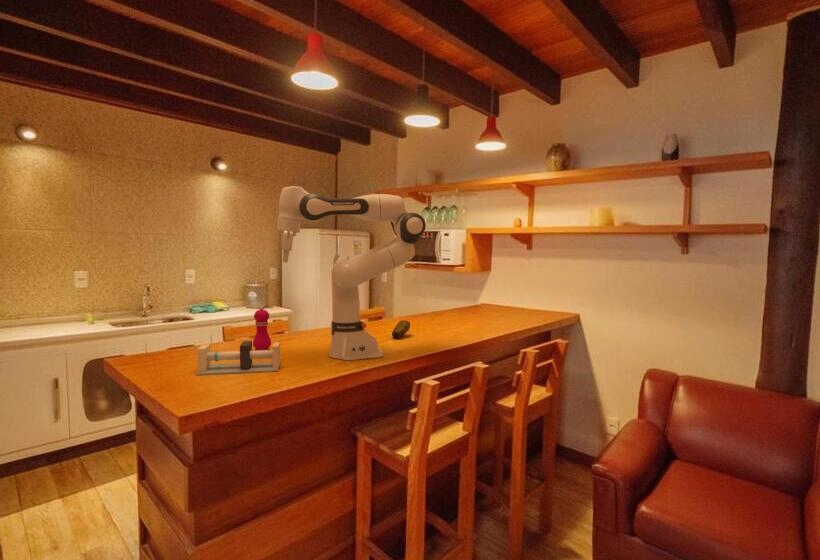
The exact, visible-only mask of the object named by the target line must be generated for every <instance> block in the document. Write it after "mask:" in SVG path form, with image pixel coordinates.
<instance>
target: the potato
mask: <svg viewBox="0 0 820 560" xmlns="http://www.w3.org/2000/svg"><path fill="white" fill-rule="evenodd" d="M410 328H411V323H410V321H408V320H400V321H399V322H398V323H397V324H396V325H395V327H394V328H393V330H392V331H391V336H392V338H394V339H399V338H400V339H401V338H402V337H404V336H405V334H407V332H409V331H410Z"/></svg>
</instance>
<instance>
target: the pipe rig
mask: <svg viewBox="0 0 820 560" xmlns="http://www.w3.org/2000/svg"><path fill="white" fill-rule="evenodd" d="M280 347H281V342H280V341H275V342H273V344H272V349H270V350H258V351H254V350H252V351H250V359H252V360H262V359H272V361H259V362H257V361H255V362H252V364H251V366H250V368H247V369H240V362H238V363H237V362H236V363H212V364H211V362H212V361H215V362H219V361H237V360H239V361H240V350H239V351H238V350H235V351H217V350H216V351H212V352H211V344H202V345H200V346H199V347H198V348H197V372H196V374H195V375H197V376H211V375H212V376H215V375H234V374H236V373H239V374H255V373H256V374H257V373H258V372H260V373H277V372H279V369H280V366H281V350H280V349H281V348H280ZM258 374H259V373H258Z"/></svg>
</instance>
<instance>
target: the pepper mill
mask: <svg viewBox="0 0 820 560" xmlns="http://www.w3.org/2000/svg"><path fill="white" fill-rule="evenodd" d="M269 318H270V313H269V311H267V310H265V309H264V305H261V306H259V308H258V309H257V310H256V311H255V312H254V314H253V320H255V322H254V323H255V326H256V330H255V331H256V332H255V335H254V337H253V341H252V347H253V348H254V350H253V351H258V350H271V349H270V348H271V345H272V340H271V337H270V335H269V333H268V325H269V321H268V320H269Z"/></svg>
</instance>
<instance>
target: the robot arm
mask: <svg viewBox="0 0 820 560" xmlns="http://www.w3.org/2000/svg"><path fill="white" fill-rule="evenodd" d="M279 196H280V197H279V202H278V210H279V211H278V215H277V222H276V223H277V224H276V230H277V231H279V235H280V236H281V237H280V238H281V239H280V240H281V241H280V242H281V250H282V251H283V252H282V254H283V255H282V262H283V263H288V262H289V256H290V252H291V251H292V250H293V249H292V248H293V243H294V242H293V241H294V237H297V233H300V232H301V226H302V225H301V223H302V219H305V220H306V221H308V222H311V223H313V222H318V221H321V220H322V219H323V218H326V217H328V216H354V217H357V218H358V219H360V220H362V221H366V222H367V221H368V222H390V225H391V228H392V230H393V231H392V232H393V233H394V234H395V236H396V237H395V238H394V239H393V240H392V239H391V240H390V241H388V242H386V243H383V244H381V245H378V246H375V247H372V248H370V249H369V250H367V251H366V250H365V251H364V252H362V253H360V254H357V255H355V256H353V257H351V258H349V259H345V260H339V261H337V262H336V263H335V264H334V265H333V267H332V269H331V296H332V297H331V298H332V299H331V301H332V302H331V303H332V304H331V305H332V309H331V310H332V312H331V313H332V320H331V324H330V333H331V334H330V335H331V341H330V342H331V343H330V347H329V348H330V349H329V352H328V356H329V357H331V358H333V359H338V360H339V359H340V360H344V361H356V360H366V359H367V358H368V359H376V358H382V357H384V350H382V349H381V348H379V345H378V341H377V339H376V338H375V336H373V335H372V334H370V333H369V332H368V331H367V330H366V328H367V324H366V323H365V322H363V321H362V320H360V318H361V317H360V316H361V315H360V308H361V307H360V290H359V286H360V285H362V284H364V283H366V282H369V281H370V280H372V279H374V278H375V277H378V276H379V275H383V274H384V273H387V272H389V271H392V270H394V269H396V268H399V267H400V266H402V265H404V264H406V263H407V262H409V261H410V260H411V259H413V258H415V257H414V256H415V255H416V254H415V253H416V250H415V246H414V244H416V243H417V242H418V241H419V240H420V238H421V237H422V236H423V235H424V233H425V230H426V226H427V225H426V221H425V219H424V217H423V216H422V215H420V214H419V213H417V212H408V211H407V210H406V203H405V201H404V199H403V198H402V197H401V196H400V195H394V194H386V193H373V194H372V193H371V194H366V195H365V194H364V195H360V196H356V197H353V198H352V197H351V198H328V197H325V196H323V195H320V194H319V193H318V194H317V193H309V192H308V191H307V190H305V189H304V188H303V187H302V186H300V185H286V186H285V187H283V188H282V189H281V192H280V195H279Z"/></svg>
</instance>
